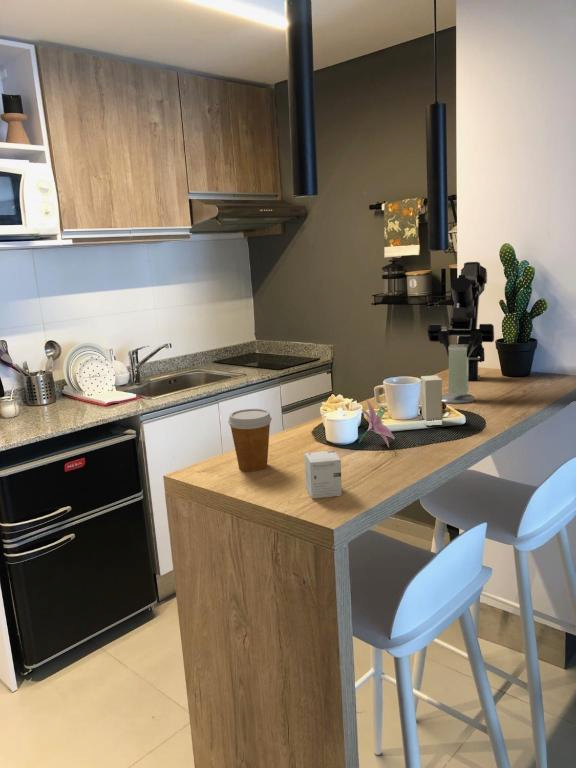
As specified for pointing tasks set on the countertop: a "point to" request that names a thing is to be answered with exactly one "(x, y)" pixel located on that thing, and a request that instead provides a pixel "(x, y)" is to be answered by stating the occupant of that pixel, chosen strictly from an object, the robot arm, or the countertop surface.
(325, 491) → the skincare box
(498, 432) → the countertop surface
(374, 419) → the lily
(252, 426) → the disposable coffee cup
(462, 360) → the sage tea tin
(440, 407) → the skincare box
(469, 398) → the slate coaster
